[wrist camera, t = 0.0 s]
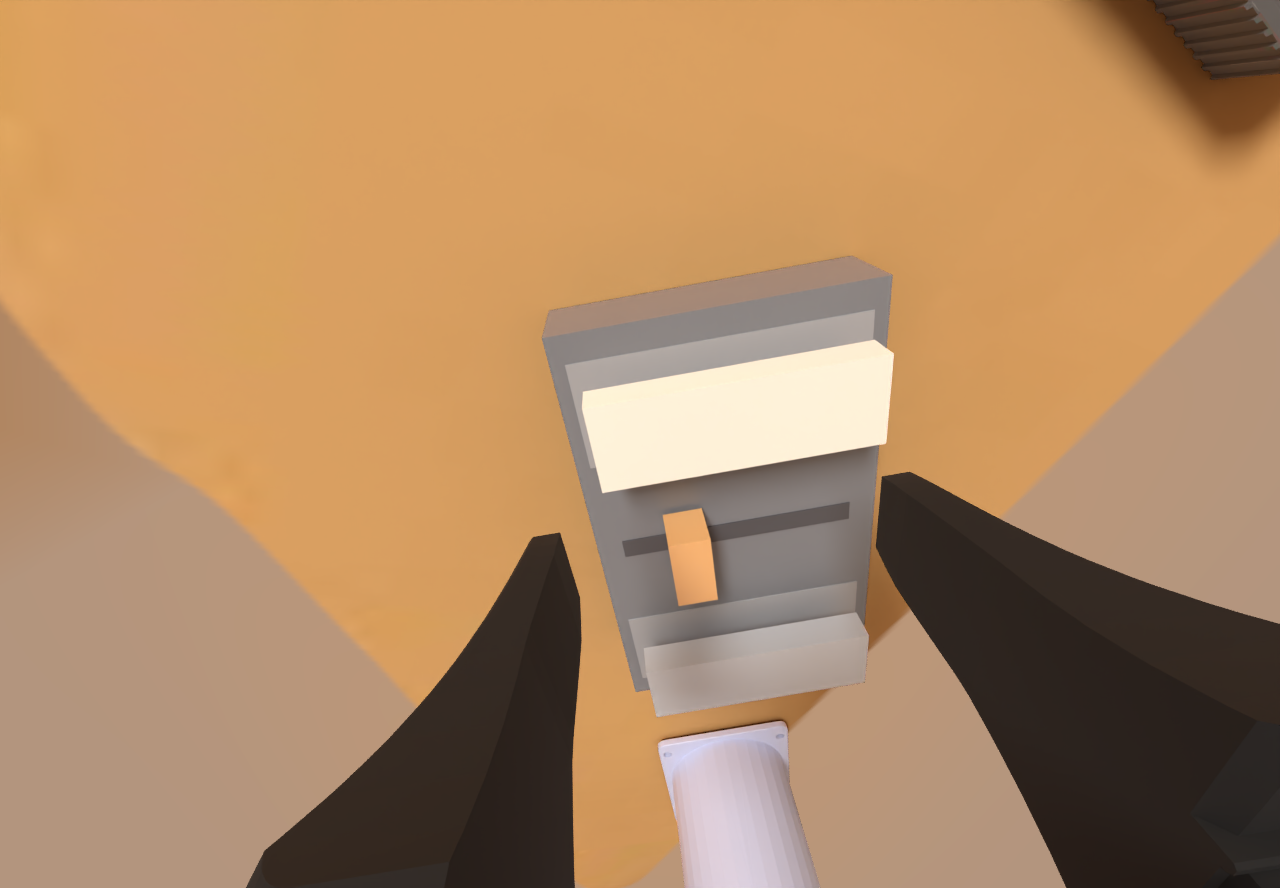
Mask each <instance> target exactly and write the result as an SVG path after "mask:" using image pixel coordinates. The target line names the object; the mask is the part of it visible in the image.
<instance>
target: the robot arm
mask: <svg viewBox="0 0 1280 888" xmlns="http://www.w3.org/2000/svg"><path fill="white" fill-rule="evenodd" d="M876 548H877V550H878V552H879V554H880V557H881V559H882V561H883V563H884V565H885V567H886V569H887V571H888V573H889V575H890V577H891V578H892V580H893V582H894V584H895V586H896V588H897V589H898V591H899V592H900V594H901V595H902V597H903V598H904V600H905V601H906V603H907V604H908V606H909V607H910V609H911V610H912V612H913V613H914V615H915V616H916V618H917V619H918V621H919V622H920V624H921V625H922V626H923V628H924V629H925V631H926V632H927V634H928V635H929V637H930V638H931V640H932V641H933V642H934V644H935V645H936V647H937V648H938V650H939V651H940V653H941V654H942V656H943V657H944V659H945V660H946V661H947V663H948V664H949V666H950V667H951V669H952V670H953V672H954V673H955V674H956V676H957V678H958V679H959V681H960V682H961V684H962V686H963V687H964V689H965V690H966V692H967V694H968V695H969V697H970V698H971V700H972V702H973V704H974V706H975V708H976V709H977V711H978V713H979V715H980V717H981V718H982V720H983V722H984V724H985V726H986V728H987V729H988V731H989V733H990V734H991V737H992V738H993V740H994V742H995V744H996V746H997V748H998V750H999V752H1000V753H1001V755H1002V757H1003V759H1004V761H1005V763H1006V765H1007V767H1008V769H1009V770H1010V773H1011V775H1012V776H1013V778H1014V780H1015V782H1016V784H1017V786H1018V788H1019V790H1020V792H1021V794H1022V796H1023V798H1024V800H1025V802H1026V804H1027V806H1028V808H1029V810H1030V812H1031V814H1032V816H1033V818H1034V820H1035V822H1036V824H1037V826H1038V828H1039V830H1040V833H1041V835H1042V837H1043V839H1044V841H1045V843H1046V845H1047V847H1048V849H1049V851H1050V853H1051V855H1052V857H1053V860H1054V862H1055V864H1056V866H1057V868H1058V871H1059V873H1060V875H1061V877H1062V879H1063V881H1064V884H1065V886H1066V888H1280V624H1278V623H1274V622H1270V621H1267V620H1263V619H1260V618H1256V617H1252V616H1248V615H1245V614H1242V613H1238V612H1235V611H1232V610H1229V609H1225V608H1222V607H1219V606H1215V605H1212V604H1209V603H1206V602H1202V601H1200V600H1196V599H1193V598H1191V597H1188V596H1185V595H1181V594H1178V593H1176V592H1173V591H1169V590H1167V589H1164V588H1161V587H1158V586H1155V585H1151V584H1149V583H1146V582H1144V581H1141V580H1138V579H1135V578H1132V577H1130V576H1127V575H1125V574H1122V573H1120V572H1117V571H1115V570H1112V569H1109V568H1107V567H1104V566H1102V565H1099V564H1096V563H1094V562H1092V561H1089V560H1086V559H1084V558H1082V557H1080V556H1077V555H1075V554H1073V553H1070V552H1068V551H1065V550H1063V549H1061V548H1059V547H1057V546H1055V545H1053V544H1050V543H1048V542H1046V541H1044V540H1042V539H1040V538H1037V537H1035V536H1033V535H1031V534H1029V533H1027V532H1025V531H1023V530H1021V529H1019V528H1016V527H1015V526H1012V525H1010V524H1009V523H1007V522H1005V521H1003V520H1001V519H999V518H997V517H995V516H993V515H991V514H989V513H987V512H985V511H983V510H981V509H980V508H978V507H976V506H974V505H972V504H970V503H968V502H966V501H965V500H963V499H961V498H959V497H957V496H955V495H953V494H952V493H950V492H948V491H946V490H944V489H942V488H940V487H939V486H937V485H935V484H933V483H931V482H929V481H927V480H925V479H923V478H921V477H919V476H917V475H915V474H913V473H911V472H906V473H900V474H894V475H888V476H883V477H882V482H881V493H880V505H879V516H878V528H877V539H876ZM580 653H581V611H580V596H579V593H578V590H577V587H576V583H575V580H574V577H573V574H572V570H571V567H570V564H569V560H568V557H567V554H566V551H565V547H564V544H563V541H562V538H561V534H560V533H555V534H549V535H543V536H537V537H533V538H532V539H531V541H530V542H529V544H528V546H527V548H526V549H525V551H524V553H523V555H522V557H521V559H520V560H519V562H518V564H517V566H516V568H515V569H514V571H513V573H512V575H511V576H510V578H509V580H508V582H507V583H506V585H505V587H504V589H503V590H502V592H501V593H500V595H499V597H498V598H497V600H496V602H495V603H494V605H493V607H492V608H491V610H490V611H489V613H488V615H487V616H486V618H485V619H484V621H483V622H482V624H481V625H480V627H479V628H478V630H477V631H476V632H475V634H474V635H473V637H472V638H471V640H470V641H469V643H468V644H467V646H466V647H465V649H464V650H463V651H462V653H461V654H460V655H459V657H458V658H457V659H456V661H455V662H454V663H453V665H452V666H451V667H450V669H449V670H448V671H447V673H446V674H445V675H444V676H443V678H442V679H441V680H440V681H439V683H438V684H437V685H436V686H435V688H434V689H433V690H432V691H431V692H430V694H429V695H428V696H427V697H426V698H425V699H424V700H423V702H422V703H421V704H420V705H419V706H418V707H417V708H416V709H415V711H414V712H413V713H412V714H411V715H410V716H409V717H408V718H407V720H405V722H404V723H403V724H402V725H401V726H400V727H399V728H398V729H397V731H395V732H394V734H393V735H392V736H391V737H390V738H389V739H388V740H387V741H386V742H385V743H384V744H383V745H382V746H381V747H380V748H379V749H378V750H377V751H376V752H375V753H374V754H373V755H372V756H371V757H370V758H369V759H368V760H367V761H366V762H365V763H364V764H363V765H362V766H361V767H360V768H358V769H357V770H356V771H355V772H354V773H353V774H352V775H351V776H350V777H349V778H348V779H347V780H346V781H345V782H344V783H343V784H342V785H340V786H339V787H338V788H337V789H336V790H335V791H334V792H333V793H332V794H331V795H329V796H328V797H327V798H326V799H325V800H324V801H323V802H321V803H320V804H319V805H318V806H317V807H316V808H314V809H313V810H312V811H311V812H310V813H309V814H307V815H306V816H305V817H304V818H303V819H302V820H300V821H299V822H298V823H297V824H296V825H295V826H293V827H292V828H291V829H290V830H289V831H288V832H286V833H285V834H284V835H283V836H282V837H281V838H280V839H278V840H277V841H276V842H275V843H273V844H272V845H271V846H270V847H268V849H266V850H265V851H264V853H263V855H262V857H261V859H260V861H259V863H258V865H257V867H256V869H255V871H254V873H253V875H252V877H251V879H250V881H249V883H248V885H247V887H246V888H575V883H574V847H573V784H572V758H573V737H574V725H575V714H576V702H577V690H578V678H579V666H580ZM658 751H659V755H660V759H661V763H662V767H663V771H664V775H665V779H666V783H667V787H668V791H669V795H670V799H671V802H672V806H673V810H674V814H675V818H676V820H677V825H678V834H679V842H680V850H681V859H682V867H683V876H684V884H685V888H820V884H819V881H818V878H817V874H816V871H815V867H814V864H813V861H812V858H811V854H810V851H809V848H808V844H807V841H806V837H805V834H804V831H803V827H802V824H801V821H800V818H799V814H798V811H797V807H796V804H795V801H794V798H793V794H792V791H791V787H790V784H789V756H788V754H789V753H788V729H787V726H786V723H785V722H783V721H775V722H769V723H763V724H757V725H751V726H745V727H739V728H733V729H727V730H721V731H715V732H709V733H703V734H697V735H691V736H685V737H679V738H673V739H667V740H662V741H661V742H659V744H658Z"/></svg>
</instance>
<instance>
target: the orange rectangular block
mask: <svg viewBox="0 0 1280 888" xmlns="http://www.w3.org/2000/svg"><path fill="white" fill-rule="evenodd" d="M663 520H664V526H665V532H666V537H667V543H668V549H669V554H670V560H671V566H672V571H673V577H674V583H675V588H676V594H677V600H678V605H679V606H683V605H689V604H695V603H700V602H706V601H712V600H718V597H717V588H716V580H715V572H714V564H713V555H712V547H711V539H710V536H709V532H708V529H707V525H706V522H705V518H704V515H703V511H702V508H700V509H694V510H688V511H682V512H677V513H671V514H665V515H663Z"/></svg>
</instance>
